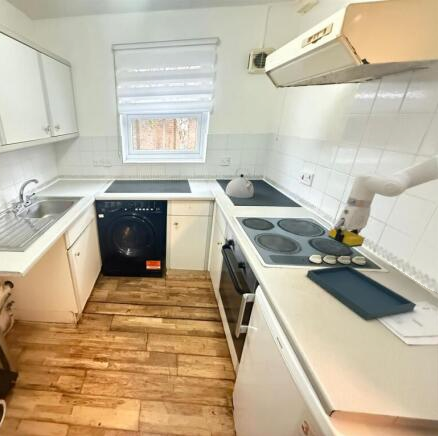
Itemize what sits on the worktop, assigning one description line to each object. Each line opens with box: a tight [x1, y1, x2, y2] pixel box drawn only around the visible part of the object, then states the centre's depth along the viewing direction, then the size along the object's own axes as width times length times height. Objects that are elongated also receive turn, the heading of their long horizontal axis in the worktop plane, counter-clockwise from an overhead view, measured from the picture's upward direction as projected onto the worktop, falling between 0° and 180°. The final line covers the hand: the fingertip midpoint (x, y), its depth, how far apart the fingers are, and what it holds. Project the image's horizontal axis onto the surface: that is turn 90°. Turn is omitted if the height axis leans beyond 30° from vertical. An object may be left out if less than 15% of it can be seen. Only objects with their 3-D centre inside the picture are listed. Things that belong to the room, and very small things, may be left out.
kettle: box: [224, 166, 255, 199], centre depth 198 cm, size 25×23×22 cm
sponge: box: [327, 228, 365, 248], centre depth 104 cm, size 10×6×4 cm, turn 12°
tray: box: [306, 264, 417, 321], centre depth 88 cm, size 20×24×3 cm
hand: (344, 240), depth 104 cm, fingers closed on sponge, 6 cm apart
